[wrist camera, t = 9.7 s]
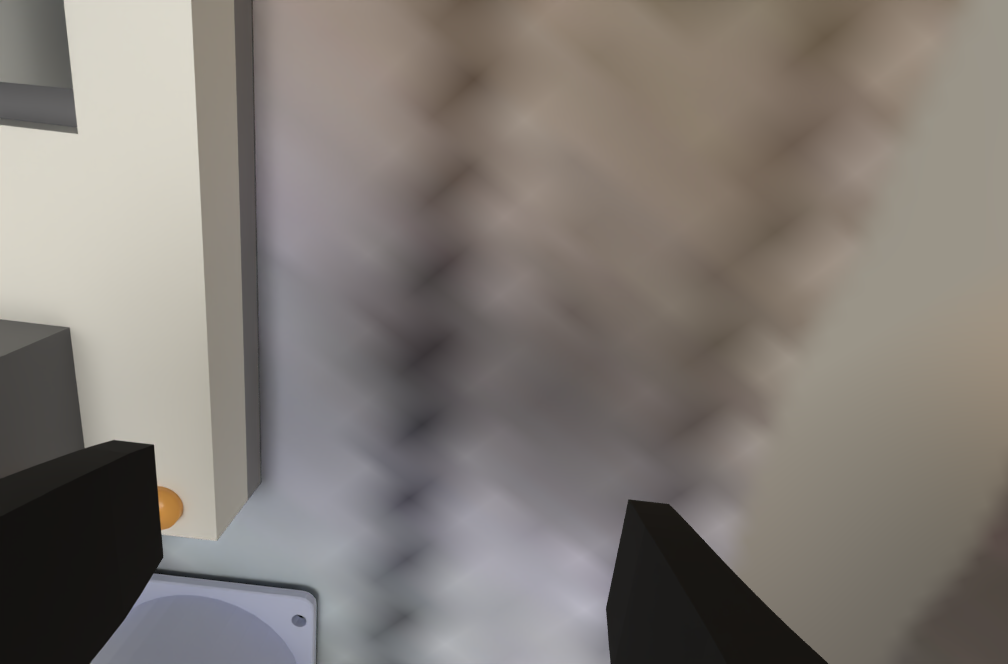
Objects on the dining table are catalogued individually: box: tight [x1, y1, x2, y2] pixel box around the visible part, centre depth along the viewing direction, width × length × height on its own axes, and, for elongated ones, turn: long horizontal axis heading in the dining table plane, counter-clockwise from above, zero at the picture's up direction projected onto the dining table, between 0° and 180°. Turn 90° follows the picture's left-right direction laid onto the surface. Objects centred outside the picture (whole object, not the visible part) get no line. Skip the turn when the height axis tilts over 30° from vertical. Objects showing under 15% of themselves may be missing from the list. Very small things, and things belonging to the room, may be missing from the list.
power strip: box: [0, 0, 261, 541], centre depth 16 cm, size 18×10×3 cm, turn 174°
